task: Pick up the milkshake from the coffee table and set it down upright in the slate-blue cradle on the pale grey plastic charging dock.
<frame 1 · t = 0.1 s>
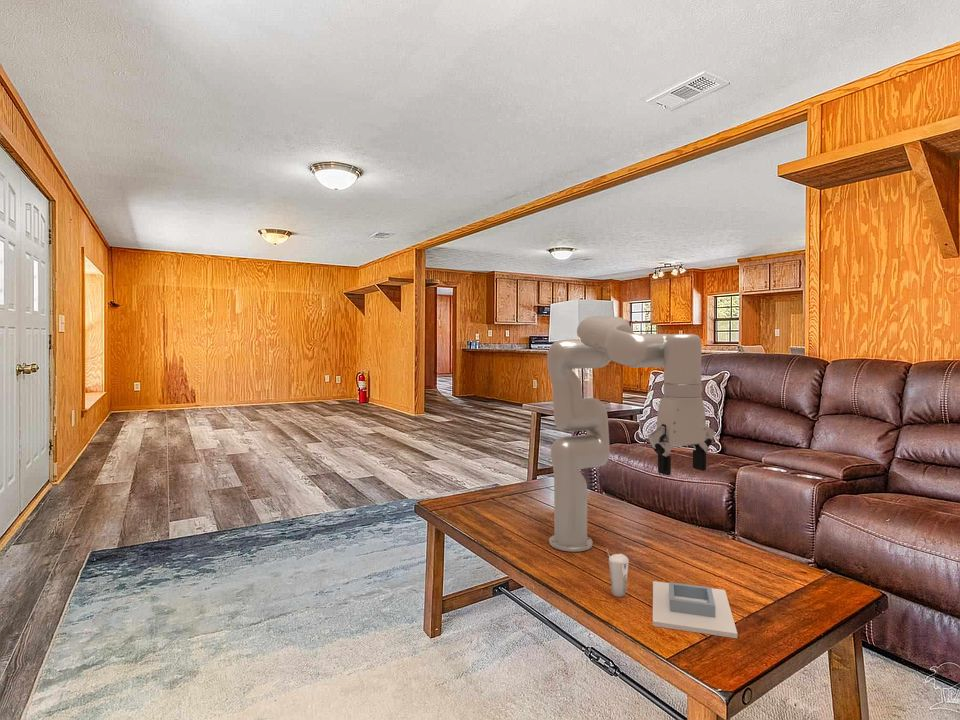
hand: (682, 471, 115), 31 cm above the table, tool pointing down, fingers open, 9 cm apart
dock: (690, 609, 119), on the table
milkshake: (617, 594, 126), on the table
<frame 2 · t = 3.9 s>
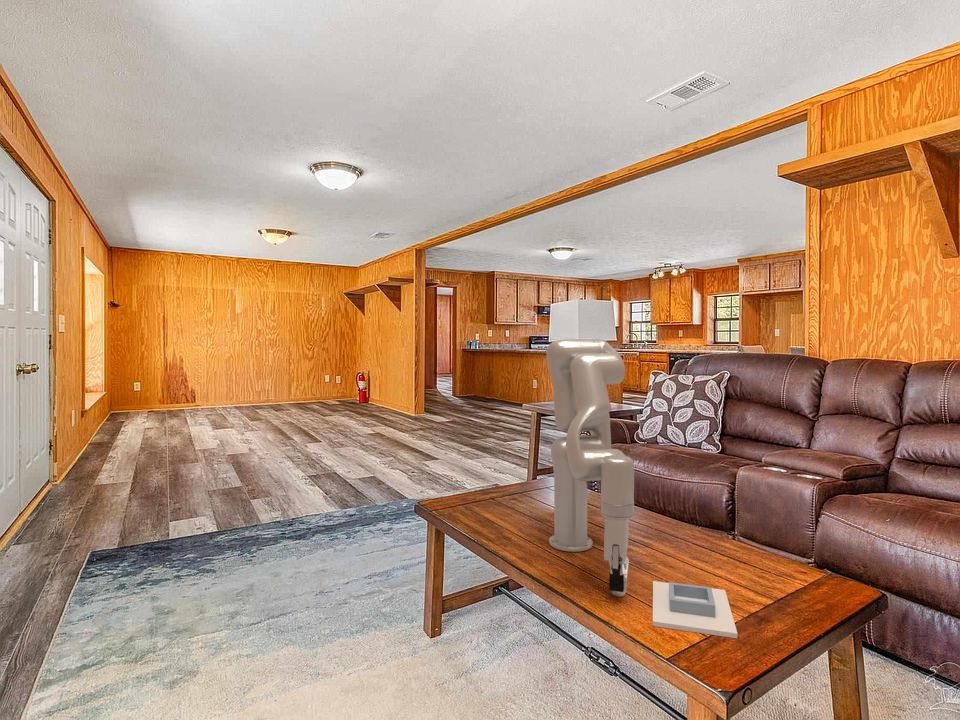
hand: (617, 585, 126), 2 cm above the table, tool pointing down, fingers closed on milkshake, 4 cm apart
milkshake: (617, 594, 126), on the table, touching gripper
when the fingers open (5 cm above the table, at t = 9.9 s): milkshake drops 2 cm, resting on dock.
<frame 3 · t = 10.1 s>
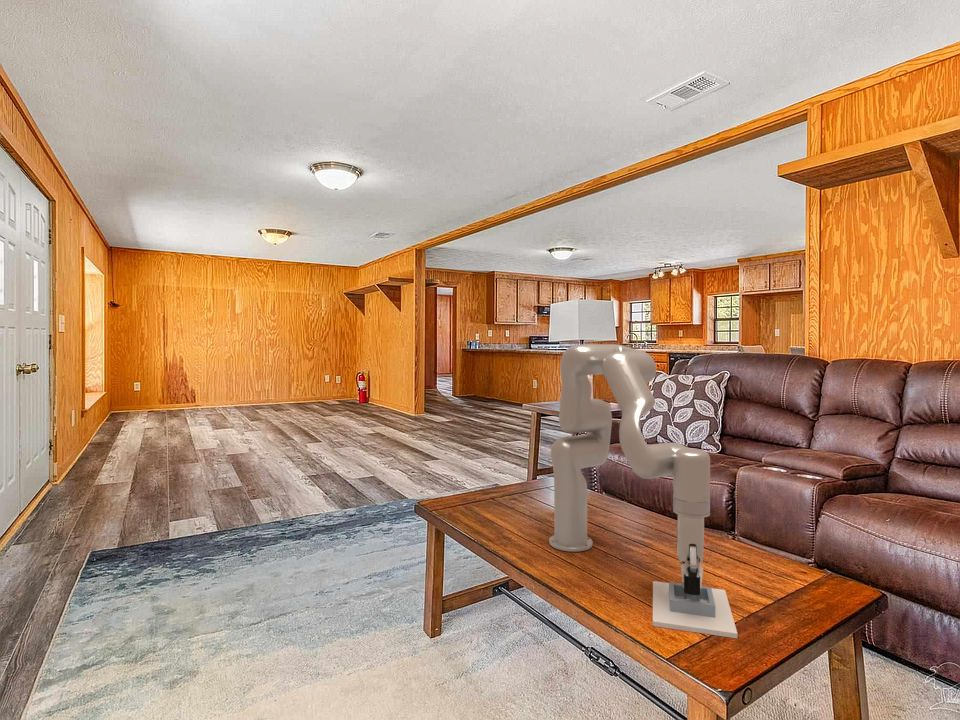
hand: (690, 586, 118), 5 cm above the table, tool pointing down, fingers open, 6 cm apart
milkshake: (689, 604, 119), point 1 cm above the table, touching dock
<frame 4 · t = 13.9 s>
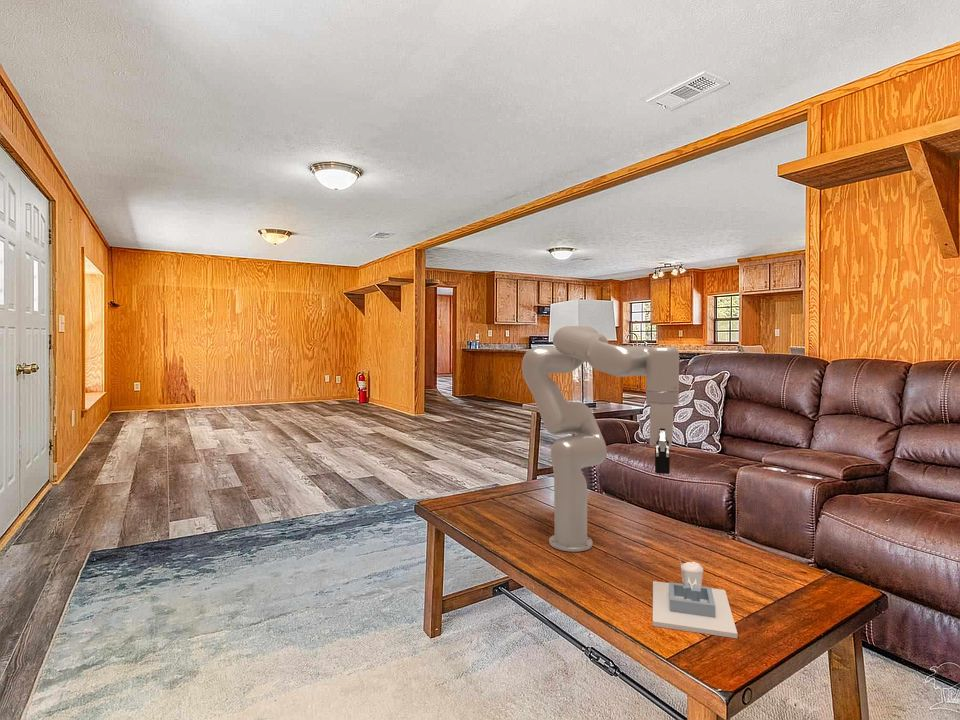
hand: (662, 468, 130), 28 cm above the table, tool pointing down, fingers open, 9 cm apart
nothing on the table moved.
at the end: milkshake 0.4 cm off-centre on the dock, point 0.8 cm above the dock's base; milkshake tilted 0°; the gripper is holding nothing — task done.
